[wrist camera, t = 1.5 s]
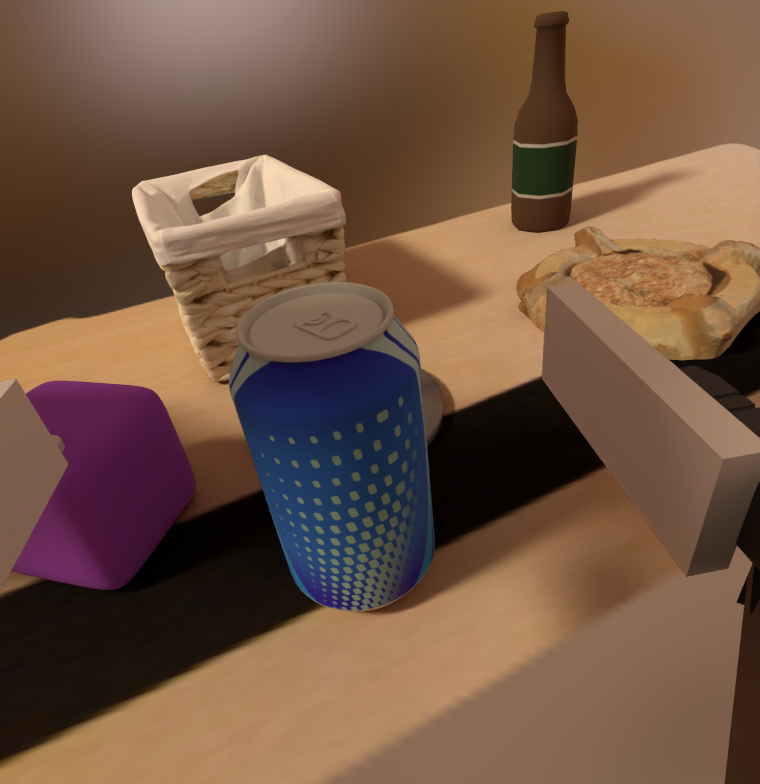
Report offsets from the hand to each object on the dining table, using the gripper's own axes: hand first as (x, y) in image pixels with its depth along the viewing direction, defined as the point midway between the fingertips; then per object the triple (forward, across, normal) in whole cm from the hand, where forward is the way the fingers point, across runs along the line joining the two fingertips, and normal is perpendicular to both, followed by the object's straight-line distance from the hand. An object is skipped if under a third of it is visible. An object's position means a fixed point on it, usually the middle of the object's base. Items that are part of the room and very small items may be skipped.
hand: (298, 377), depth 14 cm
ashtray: (+34, +31, -19) cm, 50 cm away
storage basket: (+43, -8, -18) cm, 47 cm away
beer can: (+9, 0, -19) cm, 21 cm away
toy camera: (+15, -18, -18) cm, 30 cm away
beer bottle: (+59, +30, -18) cm, 69 cm away
